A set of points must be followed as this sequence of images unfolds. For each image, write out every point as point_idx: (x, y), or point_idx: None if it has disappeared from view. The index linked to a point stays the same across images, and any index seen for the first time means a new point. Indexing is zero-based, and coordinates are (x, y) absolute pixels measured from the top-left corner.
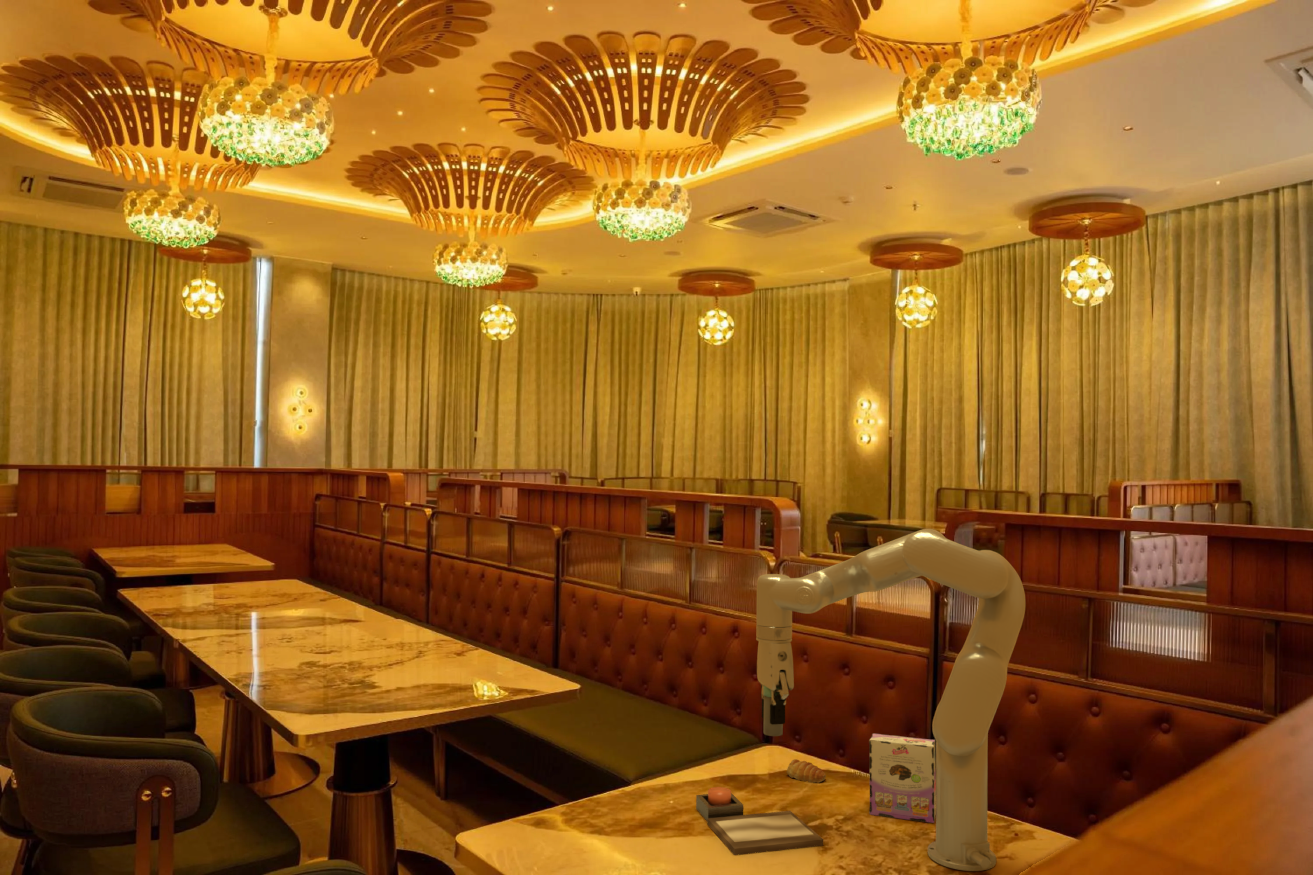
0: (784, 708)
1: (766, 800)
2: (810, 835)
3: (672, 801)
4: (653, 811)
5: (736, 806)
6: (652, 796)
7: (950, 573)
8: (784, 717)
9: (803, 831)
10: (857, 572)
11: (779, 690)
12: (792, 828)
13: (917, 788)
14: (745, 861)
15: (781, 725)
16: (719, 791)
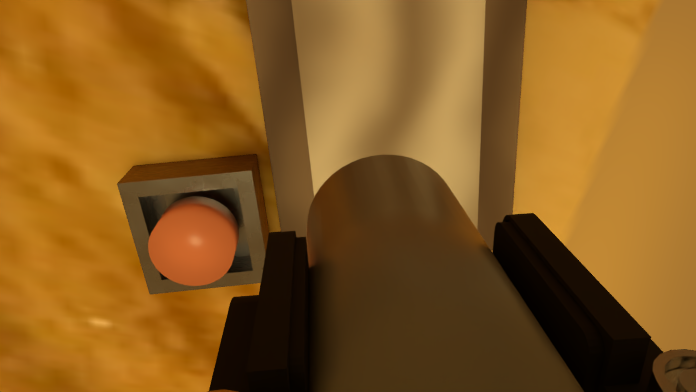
0: (610, 306)
1: (72, 17)
2: None
3: (99, 320)
4: (181, 372)
5: (255, 192)
6: (58, 362)
7: None
8: (555, 243)
9: (455, 6)
10: None
11: None
12: (421, 37)
13: None
14: (548, 223)
15: (465, 212)
16: (196, 251)
